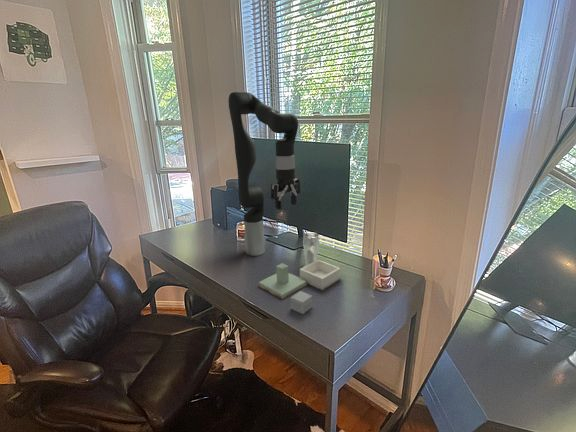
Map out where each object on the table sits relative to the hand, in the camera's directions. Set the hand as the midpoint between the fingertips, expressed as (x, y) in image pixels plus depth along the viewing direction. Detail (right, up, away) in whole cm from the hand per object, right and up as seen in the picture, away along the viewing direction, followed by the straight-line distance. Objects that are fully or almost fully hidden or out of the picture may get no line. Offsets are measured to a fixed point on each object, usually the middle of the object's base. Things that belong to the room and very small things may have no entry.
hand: (286, 206), depth 129 cm
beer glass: (+11, -26, +16) cm, 33 cm away
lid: (-1, -31, -1) cm, 31 cm away
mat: (-1, -32, -1) cm, 32 cm away
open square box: (+14, -30, +3) cm, 34 cm away
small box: (+6, -37, -15) cm, 40 cm away
